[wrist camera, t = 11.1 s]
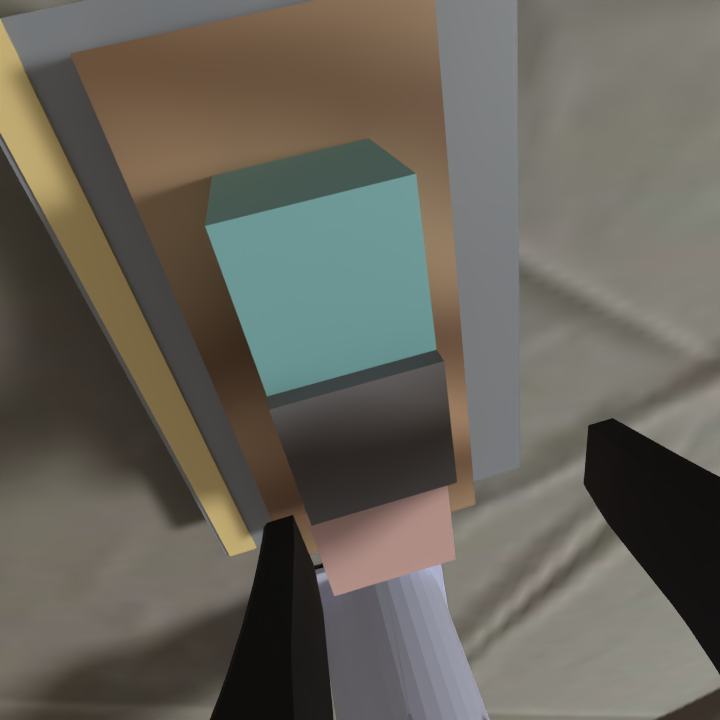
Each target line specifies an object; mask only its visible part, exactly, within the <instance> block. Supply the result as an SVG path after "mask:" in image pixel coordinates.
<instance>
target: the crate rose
mask: <svg viewBox="0 0 720 720" xmlns="http://www.w3.org/2000/svg"><path fill="white" fill-rule="evenodd" d="M303 505H304V504H303ZM304 512H305V516H306V518H307V521H308V524H309V527H310V530H311V532H312V535H313V538H314V541H315V544H316V546H317V549H318V552H319V555H320V558H321V560H322V563H323V566H324V569H325V572H326V574H327V577H328V580H329V583H330V586H331V588H332V591H333V594H334V596H337V595H340V594H344V593H347V592H350V591H353V590H357V589H360V588H363V587H367V586H370V585H373V584H377V583H380V582H383V581H386V580H390V579H393V578H396V577H400V576H403V575H406V574H410V573H413V572H416V571H419V570H423V569H426V568H429V567H433V566H436V565H439V564H443V563H446V562H449V561H453V560H456V557H455V548H454V539H453V530H452V521H451V512H450V503H449V494H448V486H444V487H441V488H438V489H434V490H431V491H427V492H424V493H421V494H417V495H414V496H411V497H407V498H404V499H400V500H397V501H394V502H390V503H387V504H384V505H380V506H377V507H374V508H370V509H367V510H363V511H360V512H357V513H353V514H350V515H347V516H343V517H340V518H336V519H333V520H330V521H326V522H323V523H320V524H316V525H313V526H311V523H310V520H309V517H308V515H307V512H306V509H305V507H304Z"/></svg>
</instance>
